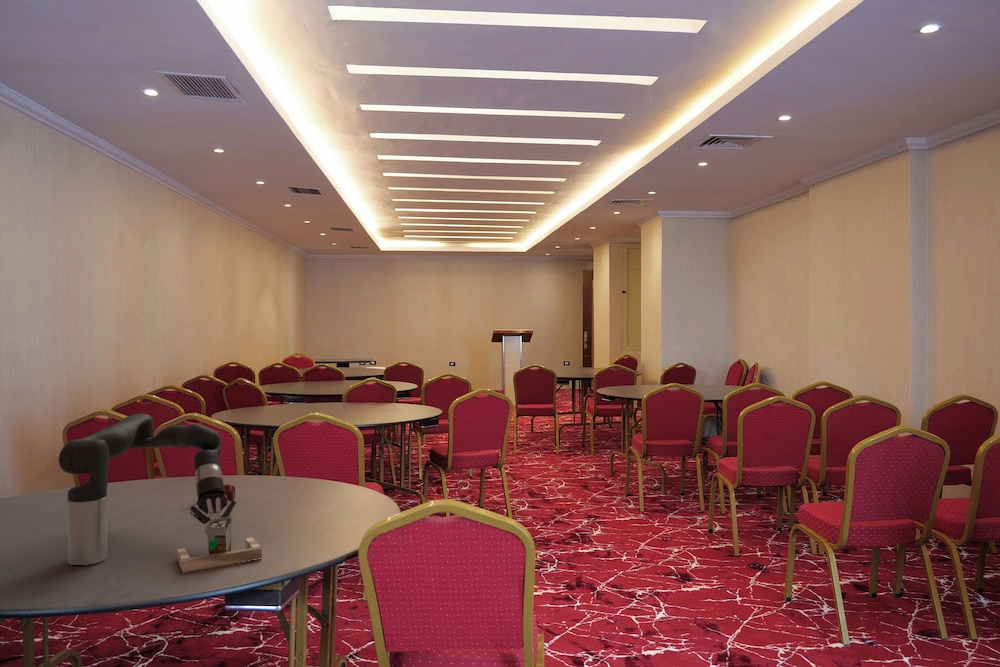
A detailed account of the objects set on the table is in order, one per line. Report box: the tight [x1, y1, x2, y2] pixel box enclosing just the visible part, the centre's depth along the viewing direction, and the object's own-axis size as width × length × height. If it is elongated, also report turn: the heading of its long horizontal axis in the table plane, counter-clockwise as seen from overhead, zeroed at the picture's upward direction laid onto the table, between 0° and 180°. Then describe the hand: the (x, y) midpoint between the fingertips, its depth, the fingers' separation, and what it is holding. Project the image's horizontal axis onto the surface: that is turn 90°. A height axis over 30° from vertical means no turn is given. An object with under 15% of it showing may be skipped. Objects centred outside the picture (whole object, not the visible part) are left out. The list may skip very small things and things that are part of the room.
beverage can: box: [224, 483, 236, 502], centre depth 253 cm, size 7×12×7 cm, turn 103°
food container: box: [204, 515, 233, 555], centre depth 191 cm, size 12×6×10 cm, turn 14°
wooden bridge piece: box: [176, 537, 263, 574], centre depth 190 cm, size 12×20×3 cm, turn 122°
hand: (216, 534), depth 196 cm, fingers closed
